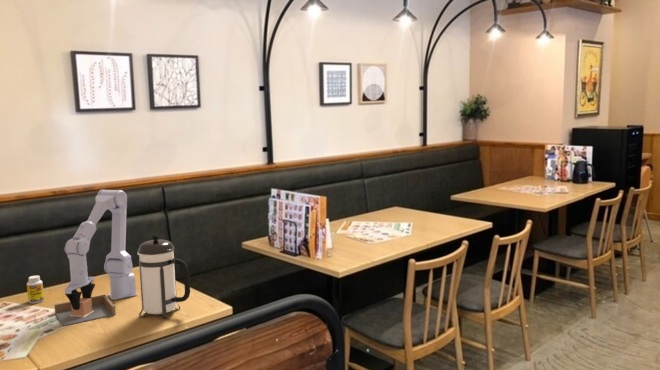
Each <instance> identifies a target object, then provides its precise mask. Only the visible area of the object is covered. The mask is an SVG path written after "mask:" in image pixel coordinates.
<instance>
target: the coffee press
mask: <svg viewBox="0 0 660 370" xmlns="http://www.w3.org/2000/svg"><path fill="white" fill-rule="evenodd" d="M151 238H152V239H151V240H147V241H144V242H143V243H141V244H140V245H139V246H138V247H139V248H138V249H137V256H139V258H138V264H139V280H140V281H139V282H140V295H141V297H140V298H141V310H140V312H139V313H138V315H139V317H140V318H144V317H145V315H147V314H148V315H162V316H161V318H162V320H166V319H168V313H169V312H172V311H173V310H174V309H175V310H177V308H176V307H177V306H178V308H179V310H180V309H181V306H180V305H179V304H178V303H182V302H185V301H186V300H188V299H189V297H190V295H191V282H190V281H191V278H190V270H189V267H188V265H187V262H186V261H184V260H182V259H179V258H175V254H174V252H175V246H174V245H173V243H172V242H171V241H169V240H166V239H159V238H160V236H159V235H158V234H156V233H155V234H153V235H152V237H151ZM176 265H179V266H180V267H181V268H182V271H183V280H184V281H183V284H184V295H182V296H177V285H176V268H175V267H176ZM143 311H144V313H143ZM142 313H143V314H142Z"/></svg>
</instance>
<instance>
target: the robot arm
mask: <svg viewBox="0 0 660 370" xmlns="http://www.w3.org/2000/svg"><path fill="white" fill-rule="evenodd" d="M94 199H95V204H94V205H93V208H92V209H91V212H90V214H89V216H88V219H87V220H86V221H83V222H81V223H80V224H79V227H78V229H77V231H76V232H75V234H74V235H73V237H72V238H70V239H68V240H67V241H66V242H65V246H64V252H65V254H66V255H67V258H68V260H69V272H70V273H69V274H70V281H69V282H68V286H67V287H65V288H64V296H66V297H67V298H68V300H69V301H70V302H71V305H72V307H73V310H79V308H80V298H91V297H92V294H93V292H94V291H93V290H94V289H95V287H96V284H95V283H94V282H95V277H94V276H89V273H88V264H87V263H88V261H87V253H88V252H89V250H90V244H91V240H92V238H93V237H94V234H95V233H96V231H97V224H98V222H99V221H100V220H101V218H102V217H103V215H104V213H105V212H106V211H107V210H109V211H110V212H111V240H110V241H111V243H110V244H111V247H110V248H111V249H110V252H109V253H108V254H107V255H106V256H105V262H104V265H103V269H104V272H105V273H107V276H109V288H110V293H108V294H107V295H108V297H109V299H111V300H112V301H115V300H120V299H124V298H129V297H130V298H131V297H134V296H137V295H138V294H137V289H136V288H137V287H136V286H137V285H136V278H135V274H134V272H132V271H133V261H132V255H131V254H129V252H127V251H126V243H127V242H126V238H127V237H126V236H127V235H126V234H127V209H128V205H127V204H128V195H127V194H126V192H125V191H124V190H122V189H117V190H116V189H100V190H99V191H98V192H97V195H96V196H95V198H94ZM78 290H80V291H78ZM81 296H82V297H81Z"/></svg>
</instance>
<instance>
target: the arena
mask: <svg viewBox="0 0 660 370" xmlns="http://www.w3.org/2000/svg"><path fill="white" fill-rule="evenodd" d="M91 299H92V312H90V313H89V314H87V315H85V316H74V315H72V309H71V302H70V300H69V301H66V302H61V303H54V314H55V315H57V316H56V317H57V319H58V321H59V322H60V324H61V326H62V327H66V326H70V325H71V326H72V325H75V324H81V323H84V322H89V321H94V320H97V319H98V320H99V319H103V318H107V317H111V316H116V315H117V314H116V305H115V304H114V302H112V301H111V300H110V298H109V297H108V296H107V295H106V294H101V295H95V296H91Z"/></svg>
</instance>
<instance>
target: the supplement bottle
mask: <svg viewBox="0 0 660 370" xmlns="http://www.w3.org/2000/svg"><path fill="white" fill-rule="evenodd" d="M43 284H44V283H43V280H41V277H40V275H31V276H29V277H28V281H27V283H26V290H27V291H26V292H27V302H28V303H29V304H40V303H43V301H44V299H45V297H44V296H45V295H44V285H43Z"/></svg>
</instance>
